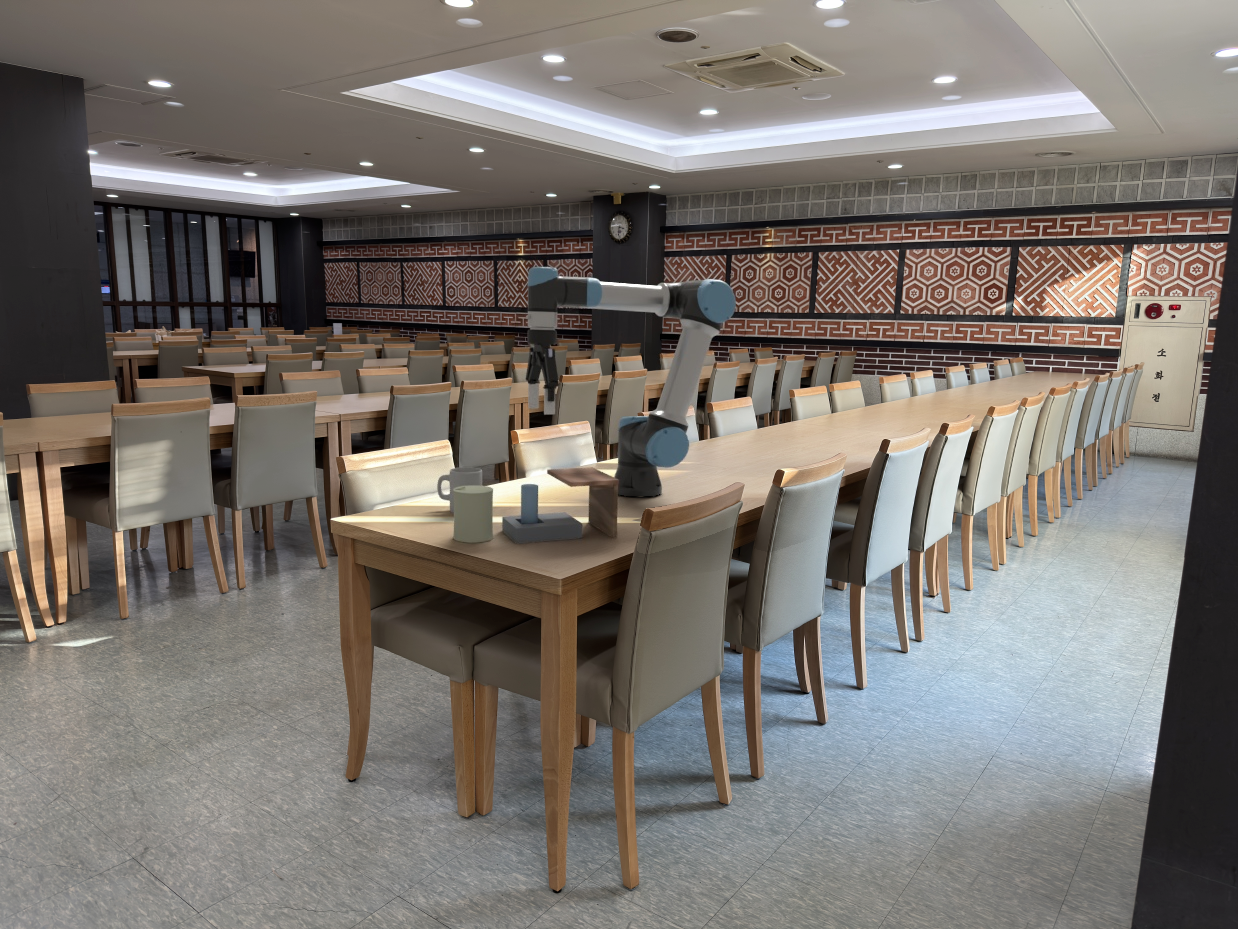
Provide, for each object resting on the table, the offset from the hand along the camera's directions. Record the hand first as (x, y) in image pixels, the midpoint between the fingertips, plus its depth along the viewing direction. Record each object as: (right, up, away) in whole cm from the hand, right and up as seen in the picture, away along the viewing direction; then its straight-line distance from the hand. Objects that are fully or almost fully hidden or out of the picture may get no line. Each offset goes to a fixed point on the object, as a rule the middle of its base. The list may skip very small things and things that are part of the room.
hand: (541, 411), depth 216 cm
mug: (-22, -26, +3) cm, 34 cm away
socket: (+2, -30, -19) cm, 36 cm away
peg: (-1, -31, -20) cm, 37 cm away
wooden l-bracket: (+11, -30, -15) cm, 35 cm away
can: (-14, -31, -23) cm, 41 cm away
